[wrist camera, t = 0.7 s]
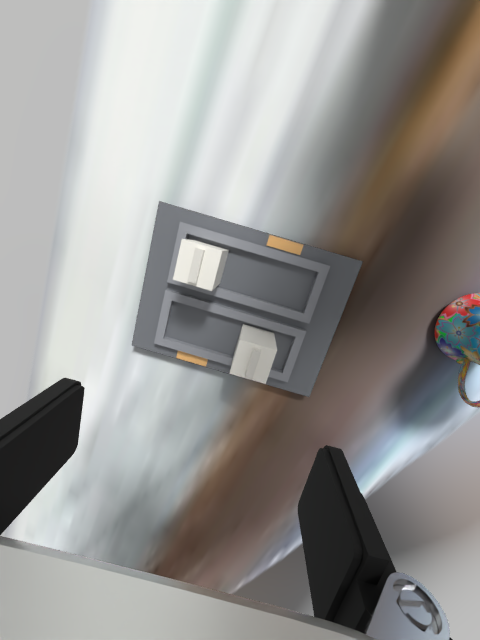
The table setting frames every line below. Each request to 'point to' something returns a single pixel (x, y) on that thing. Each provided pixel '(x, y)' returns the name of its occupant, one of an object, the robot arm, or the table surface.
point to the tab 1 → (200, 264)
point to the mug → (461, 336)
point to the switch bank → (243, 298)
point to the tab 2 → (254, 354)
